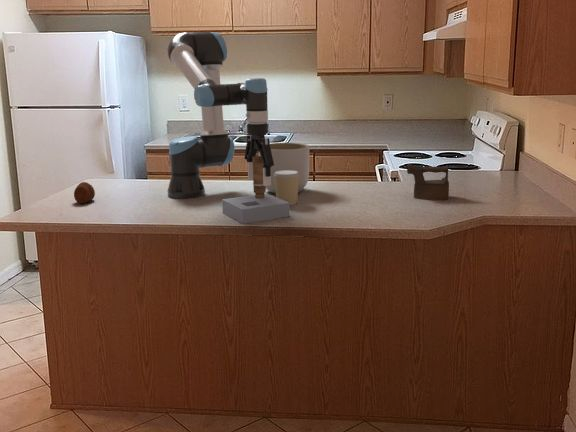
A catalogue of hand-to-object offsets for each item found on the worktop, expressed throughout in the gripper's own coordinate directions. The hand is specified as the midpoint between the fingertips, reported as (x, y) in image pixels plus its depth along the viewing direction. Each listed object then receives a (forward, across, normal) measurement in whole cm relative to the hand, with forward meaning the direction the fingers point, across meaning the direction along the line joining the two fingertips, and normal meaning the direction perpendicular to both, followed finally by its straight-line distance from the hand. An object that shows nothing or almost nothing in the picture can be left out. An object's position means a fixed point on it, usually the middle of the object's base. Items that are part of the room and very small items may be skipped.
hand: (259, 182), depth 231 cm
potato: (+11, -52, -53) cm, 75 cm away
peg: (+6, 0, 0) cm, 6 cm away
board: (+11, +4, -4) cm, 12 cm away
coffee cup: (+11, -6, +14) cm, 18 cm away
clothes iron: (+11, +16, +65) cm, 68 cm away
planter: (+11, -24, +23) cm, 35 cm away
